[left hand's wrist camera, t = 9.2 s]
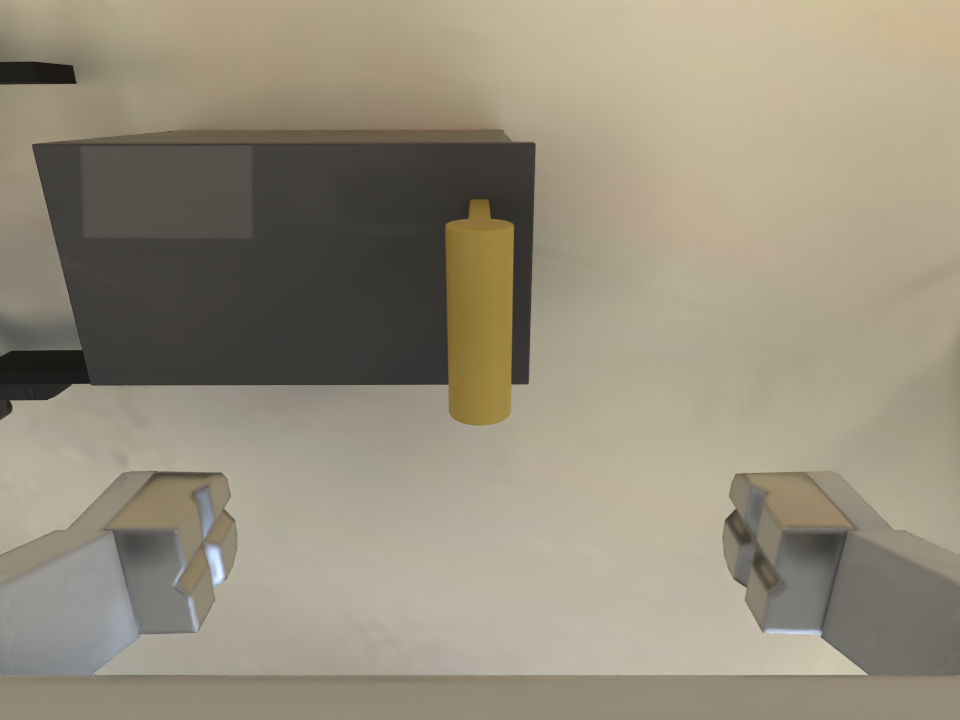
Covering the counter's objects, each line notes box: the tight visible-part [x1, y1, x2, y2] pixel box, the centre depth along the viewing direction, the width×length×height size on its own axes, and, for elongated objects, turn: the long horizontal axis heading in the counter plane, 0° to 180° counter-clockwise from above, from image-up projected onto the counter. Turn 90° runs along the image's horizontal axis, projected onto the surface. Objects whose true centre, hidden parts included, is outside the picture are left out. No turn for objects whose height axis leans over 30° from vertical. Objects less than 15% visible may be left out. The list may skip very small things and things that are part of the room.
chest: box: [51, 130, 512, 143], centre depth 31 cm, size 18×10×11 cm, turn 90°
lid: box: [32, 142, 535, 425], centre depth 22 cm, size 18×10×8 cm, turn 90°
